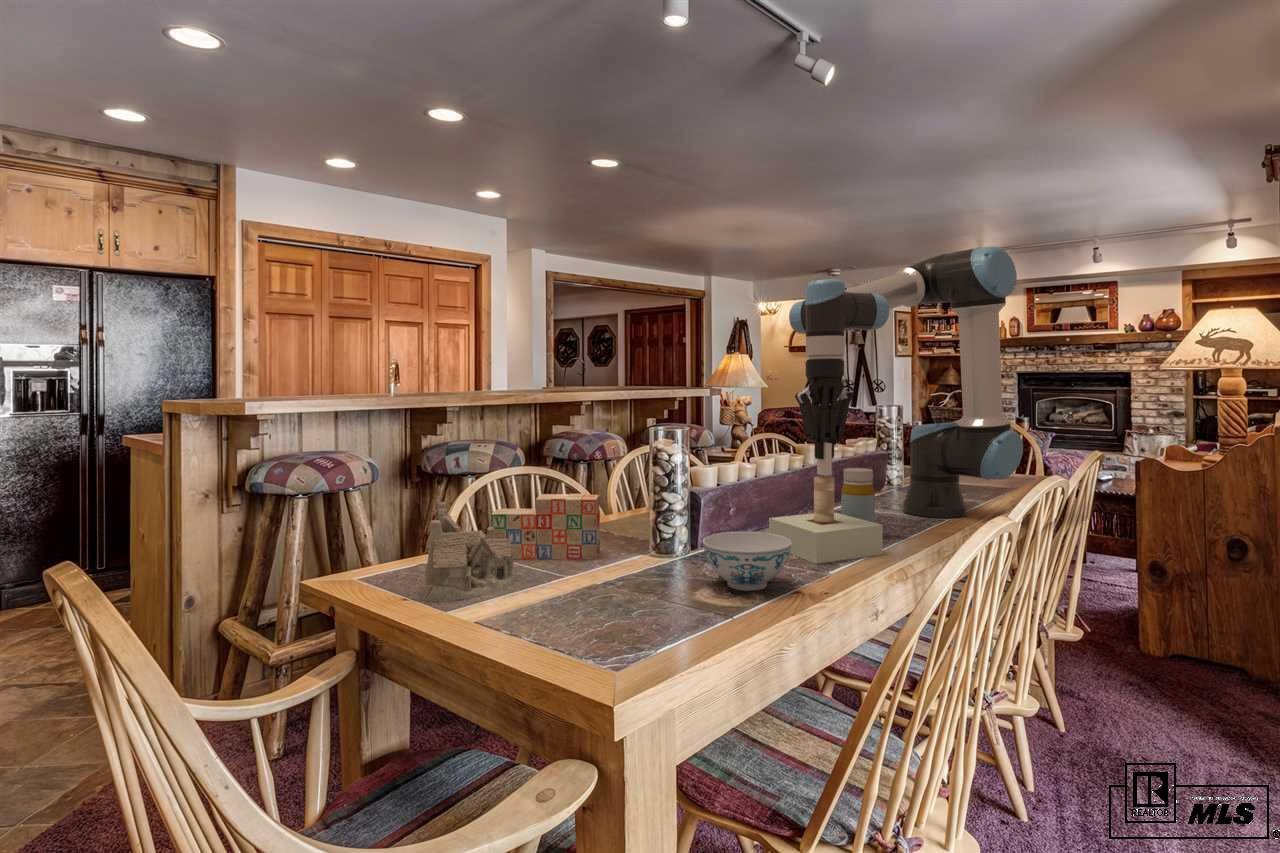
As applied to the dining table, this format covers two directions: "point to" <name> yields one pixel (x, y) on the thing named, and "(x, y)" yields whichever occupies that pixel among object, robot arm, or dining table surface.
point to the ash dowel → (824, 500)
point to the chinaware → (747, 557)
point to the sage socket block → (829, 537)
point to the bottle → (858, 494)
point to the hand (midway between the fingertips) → (824, 474)
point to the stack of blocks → (552, 527)
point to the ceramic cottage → (464, 562)
